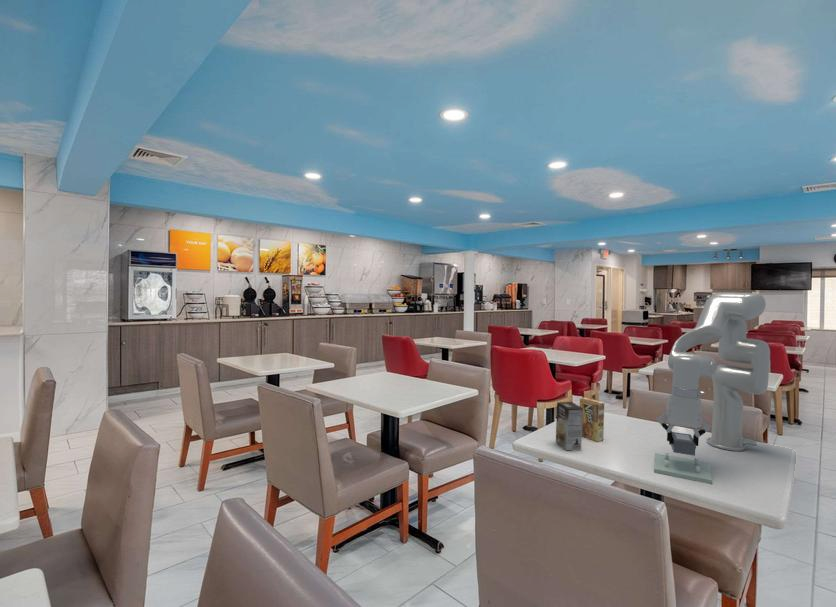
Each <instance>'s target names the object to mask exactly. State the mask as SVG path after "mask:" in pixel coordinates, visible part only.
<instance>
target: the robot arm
mask: <svg viewBox="0 0 836 607" xmlns="http://www.w3.org/2000/svg"><path fill="white" fill-rule="evenodd" d="M765 309H766V299H765V297H764V296H763V295H762V294H761V293H756V292H755V293H754V292H716V293H713V294H711V295H710V296H709V298H708V299H706V301H705V303H704V304H703V308H702V310H701V312H700V315H699V318H698V320H697V323H696V325H695V327H694V328H692V329H690V330H689V331H686V332H685V333H684V334H682V335H681V336H680V337H678V338H677V339H676V340H675V342H674V344H673V345H672V348H671V350H670V353H669V356H668V359H667V360H668V361H667V366H668V368H669V369H670V371H671V372H672V382H671V383H672V386H671V393H670V394H669V395H668V399H667V403H666V412H664V413H663V414H661V415H660V416H658V417H657V418H656V421H657V422H658V424H659V425H661V426H662V428H663V429H664V430H665V431H666V441H667V442H668V444H669V445H670V446H671V444H672V432H673V429H674V426H675V427H680V428H687V429H692V430H693V435H692V438H693V440H694V442H695V444H696V445H695V450H696V449H697V447H699V442H700V441H699V438H701V436H703V435H704V434H705V433H706V432H708V431H710V430H711V436H709V437H707V438H706V443H707V444H708V445H710V446H713V447H715V448H718V449H721V450H726V451H733V452H741V451H742V452H743V451H746V449H747V445H748V446H752V447H757V446H758V445H757V444H758V442H757V440H752V439H751V438H745V437H744V436H743V434H742V433H743V432H742V431H743V429H742V428H743V415H744V414H743V413H744V401H743V398H742V397H741V395H740V394H739V392H740V393H746V394H752V395H763V394H765V393H766V392H767V390H768V386H769V378H770V376H769V375H770V363H771V362H770V361H771V348H770V347H769V344H768V343H767V342H766V341H764V340H761V339H755V338H747V333H748V332H747V331H748V330H747V328H748V327H747V326H748V325H747V323H746V321H751V320H754V319H756V318H759V317H760V316H762V314H763V313H764V311H765ZM715 341H718V348H717V349H718V356H719V358H720V359H721V360H723V361H726V362H731V363H738V364H746V365H750V366H751V367H746V366H740V365H733V364H718V363H717V361H716V360H715V358H713V357H712V356H710V355H705V354H699V353H693V352H692V353H691V352H687V351H688V350H689V349H691V348H693V347H696V346H699V345H703V344H708V343H712V342H715ZM717 364H718V365H717ZM709 377H711V381H712V387H713V388H712V390H713V400H712V418H711V419H712V424H711V425H710V424H709V423H708V422H707V421H706V420H705V419H704V418H703V413H702V412H703V410H702V400H701V398H700V397H701V396H704V393H705V392H704V391H702V390H700V389H699V385H700V383H699V382H700V378H709ZM664 420H665V421H664ZM667 424H668V425H667ZM702 425H703V426H704V427H702ZM701 427H702V428H701Z"/></svg>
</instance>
